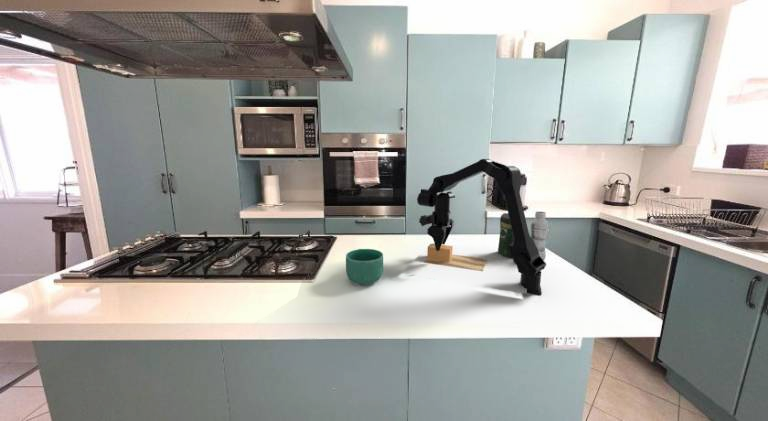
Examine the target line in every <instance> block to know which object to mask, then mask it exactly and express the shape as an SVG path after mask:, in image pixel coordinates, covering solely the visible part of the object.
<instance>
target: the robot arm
mask: <svg viewBox="0 0 768 421" xmlns="http://www.w3.org/2000/svg"><path fill="white" fill-rule="evenodd" d="M482 173H485V175H487V176H488V177H490V178H493V179H494V180H495V182H496V185H497V188H498V189H499V190H500V192H501V193H502V195H503V196H504V200H505V205H506V210H507V213H508V214H509V219H510V223H511V228H512V232H513V237H514V241H513V244H511V245H509V250H510V253H511V257H510V258H509V259H512V261H513V263H514V264H515V265H516V269H517V271H518V273H520V282H519V285H520V286H522V287H523V288H524V289H526V293H528V294H535V295H542V294H543V292H542V288H541V287H542V286H541V282H542V280H541V279H542V278H541V277H542V271H543V270H545V269H546V266H547V263H546V261H545V260H543V259H542V258H541V257H540V256H539V252H538V249H537V247H536V245H535V243H534V241H533V240H532V239H531V234H530V233H529V228H528V224H527V219H526V215H525V210H524V205H523V201H522V196H521V186H522V174H521V170H520V169H519V168H518V167H517V166H515V165H506V164H503V163H499V162H497V161H494V160H492V159H491V158H481V159H479V160H478V161H477V162H476V161H475V162H474V163H472V164H469V165H467V166H465V167H463V168H461V169H458V170H457V171H454V172H452V173H448V174H442V175H438V176H435V177H434V178H433V181H432V184H431V185H430V186H429V188H428V189H427V188H421V189H420V192H419V193H418V195H417V198H416V201H417V204H418V205H419V206H422V207H429V208H433V207H434V210H433V211H432V213H431V214H428V215H425V214H424V215H421V216H420V218H419V219H418V220H419V221H418V223H419V224H420V225H421V227H424V226H427V225H430V224H431V225H430V226H429V227H428V228H427V233H426V234H427V235H428V236H430V237H431V238H432V240H433V244H435V248H436V251H439V250H440V247H441V245H446V242H447V240H448V238H449V236H450V234H451V231H452V230H453V227H454V224H455V220H453V218H450V214H451V210H450V204H451V203H450V202H451V199H454V198H455V197H456V195H455V194H453V192H452V191H451V190H452V189H454V188H455V187H457V186H458V184H460V183H461V182H463V181H466V180H469V179H470V178H473V177H476V176H478V175H480V174H482Z"/></svg>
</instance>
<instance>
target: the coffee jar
mask: <svg viewBox="0 0 768 421" xmlns="http://www.w3.org/2000/svg"><path fill="white" fill-rule="evenodd" d="M499 228H500V230H499V238H498V239H499V241H498V247H497V253H498V255H500V256H502V257H503V258H507V259H511V258H510V257H511V253H510V250H509V245H511V244H513V241H514V237H513V232H512V228H511V223H510V219H509V214H508V212H505V213H504V212H503V213H502V214H501V216H500V219H499Z"/></svg>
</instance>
